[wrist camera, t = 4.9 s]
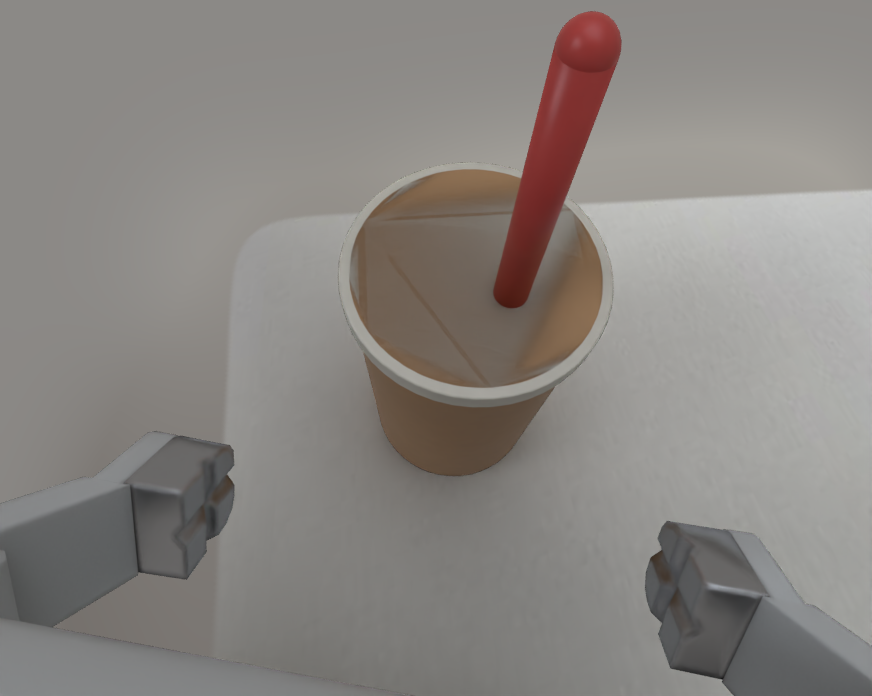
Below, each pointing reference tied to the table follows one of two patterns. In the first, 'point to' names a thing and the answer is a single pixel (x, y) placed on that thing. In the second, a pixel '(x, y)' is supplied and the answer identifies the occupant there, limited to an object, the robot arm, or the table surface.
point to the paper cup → (484, 278)
